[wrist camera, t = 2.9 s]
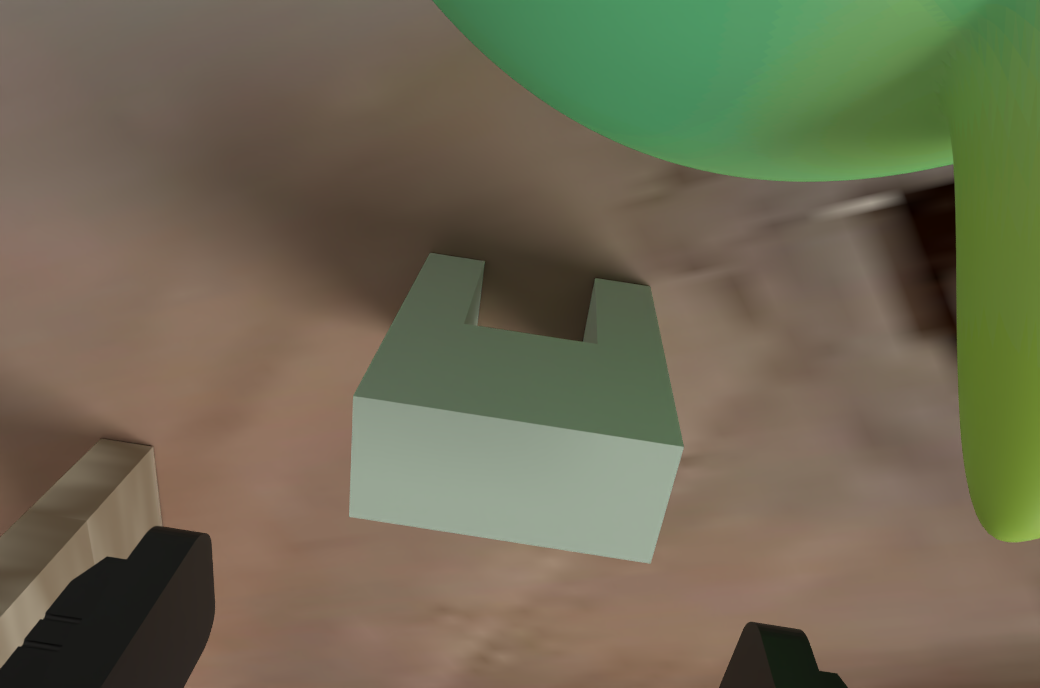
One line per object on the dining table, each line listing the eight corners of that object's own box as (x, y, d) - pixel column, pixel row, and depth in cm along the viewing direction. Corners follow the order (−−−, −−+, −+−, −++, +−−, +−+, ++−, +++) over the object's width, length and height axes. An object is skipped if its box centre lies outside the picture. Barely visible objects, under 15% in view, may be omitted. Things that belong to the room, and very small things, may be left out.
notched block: (650, 286, 21) (683, 447, 14) (629, 376, 23) (650, 563, 16) (429, 252, 21) (353, 395, 14) (422, 344, 23) (349, 516, 16)
